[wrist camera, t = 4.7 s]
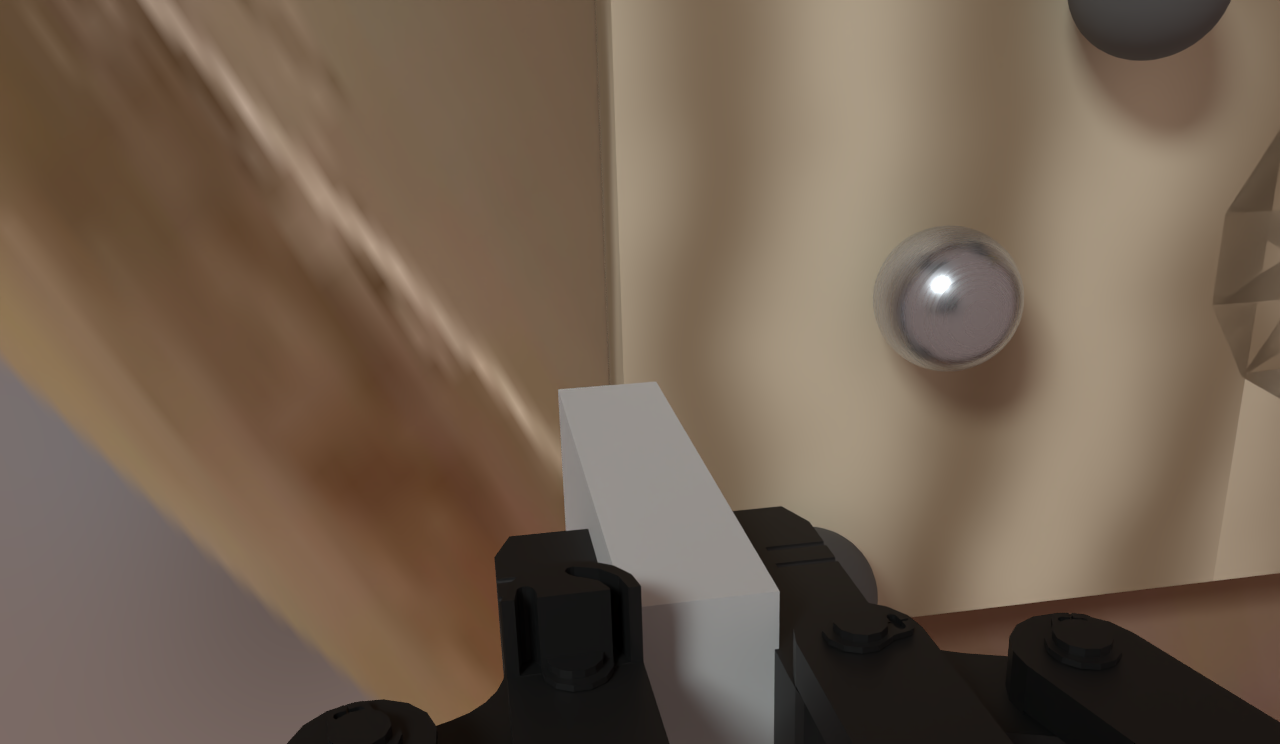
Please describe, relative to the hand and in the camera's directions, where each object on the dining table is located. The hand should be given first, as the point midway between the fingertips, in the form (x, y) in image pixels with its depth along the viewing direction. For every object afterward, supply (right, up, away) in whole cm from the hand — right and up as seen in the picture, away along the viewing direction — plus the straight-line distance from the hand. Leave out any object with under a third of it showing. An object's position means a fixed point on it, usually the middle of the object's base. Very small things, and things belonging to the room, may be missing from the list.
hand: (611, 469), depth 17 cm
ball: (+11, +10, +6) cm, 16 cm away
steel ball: (+7, +3, +7) cm, 11 cm away
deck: (+12, +5, +12) cm, 18 cm away
